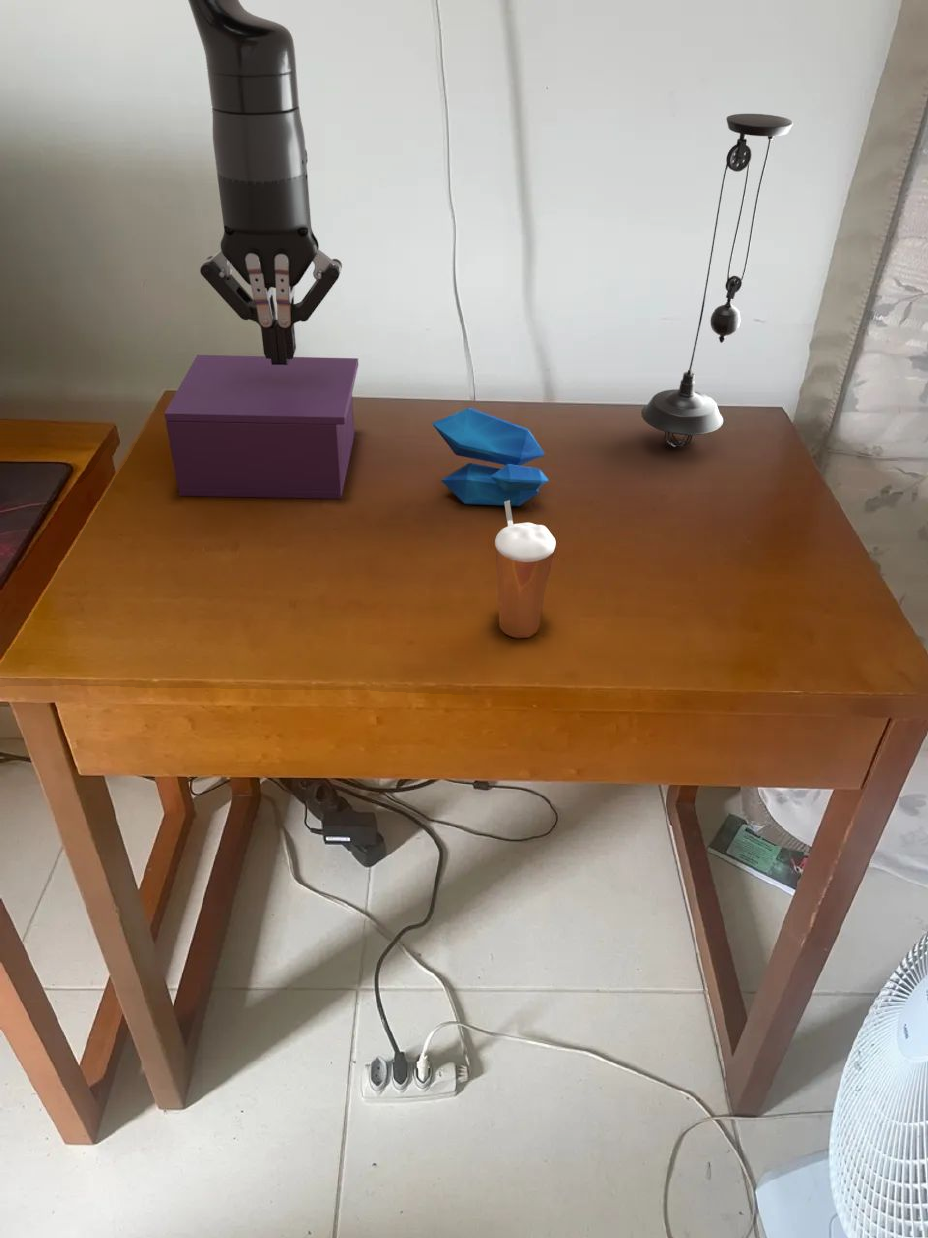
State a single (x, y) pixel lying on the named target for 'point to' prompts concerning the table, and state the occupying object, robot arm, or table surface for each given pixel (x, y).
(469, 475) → the gemstones
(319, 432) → the box
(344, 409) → the lid
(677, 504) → the table surface
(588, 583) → the table surface
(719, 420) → the light fixture
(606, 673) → the table surface
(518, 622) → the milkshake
